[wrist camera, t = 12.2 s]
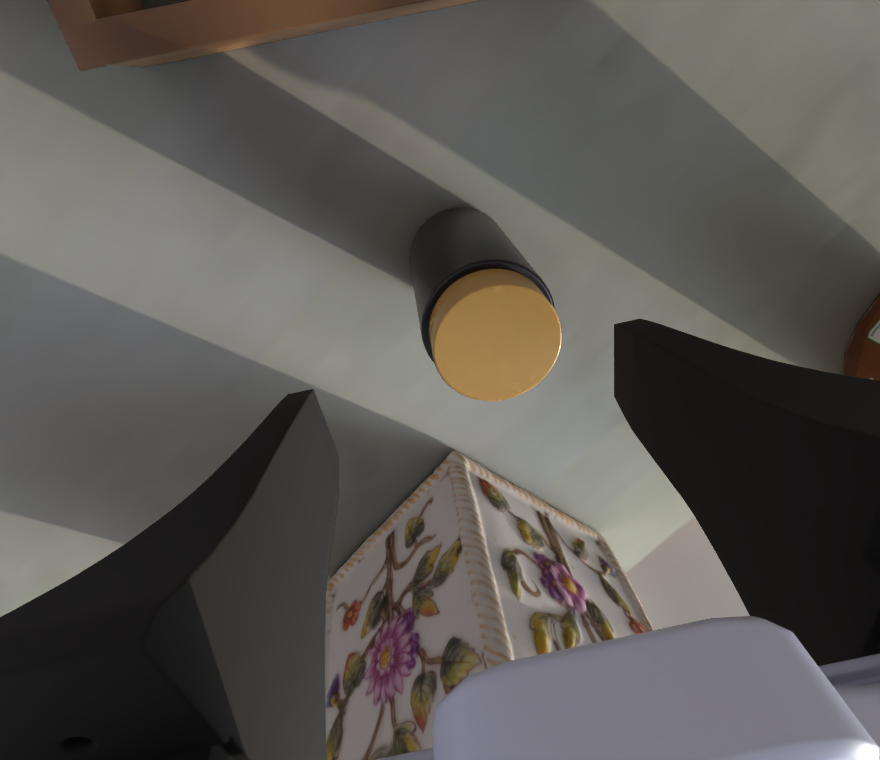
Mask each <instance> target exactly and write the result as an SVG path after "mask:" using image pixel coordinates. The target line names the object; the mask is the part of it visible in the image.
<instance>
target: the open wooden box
mask: <svg viewBox="0 0 880 760" xmlns="http://www.w3.org/2000/svg"><path fill="white" fill-rule="evenodd" d="M475 1H480V0H188V1H183V2H178V3H173V4H168V5H163V6H158V7H153V8H148V9H144V8H143V5H142V2H141V0H47V2H48V4H49V6H50V8H51V10H52V13H53V15H54V17H55V19H56V21H57V23H58V25H59V28H60V30H61V32H62V34H63V36H64V38H65V40H66V43H67V45H68V47H69V49H70V51H71V53H72V55H73V58H74V60H75V62H76V64H77V66H78V68H79V70H90V69H95V68H100V67H105V66H129V67H149V66H154V65H159V64H164V63H169V62H174V61H179V60H184V59H189V58H194V57H199V56H204V55H209V54H214V53H219V52H224V51H229V50H234V49H239V48H244V47H249V46H254V45H259V44H264V43H269V42H274V41H279V40H284V39H289V38H294V37H299V36H304V35H309V34H314V33H319V32H324V31H329V30H334V29H340V28H345V27H350V26H355V25H360V24H365V23H370V22H375V21H380V20H385V19H390V18H395V17H400V16H405V15H410V14H415V13H420V12H425V11H430V10H435V9H440V8H445V7H450V6H455V5H460V4H465V3H470V2H475Z"/></svg>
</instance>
